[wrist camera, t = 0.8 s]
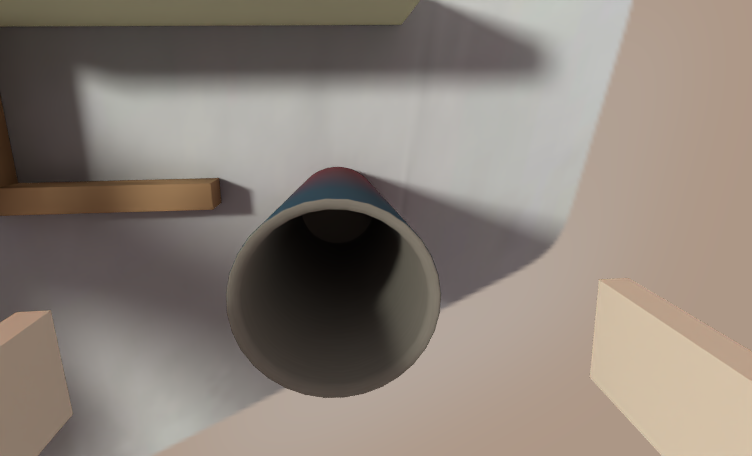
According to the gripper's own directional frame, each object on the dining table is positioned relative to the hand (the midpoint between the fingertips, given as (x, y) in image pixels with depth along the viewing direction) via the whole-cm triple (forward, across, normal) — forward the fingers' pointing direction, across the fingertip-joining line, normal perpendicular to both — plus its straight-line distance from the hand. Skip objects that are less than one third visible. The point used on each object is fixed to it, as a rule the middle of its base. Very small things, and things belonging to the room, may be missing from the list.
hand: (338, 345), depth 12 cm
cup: (+19, 0, 0) cm, 19 cm away
